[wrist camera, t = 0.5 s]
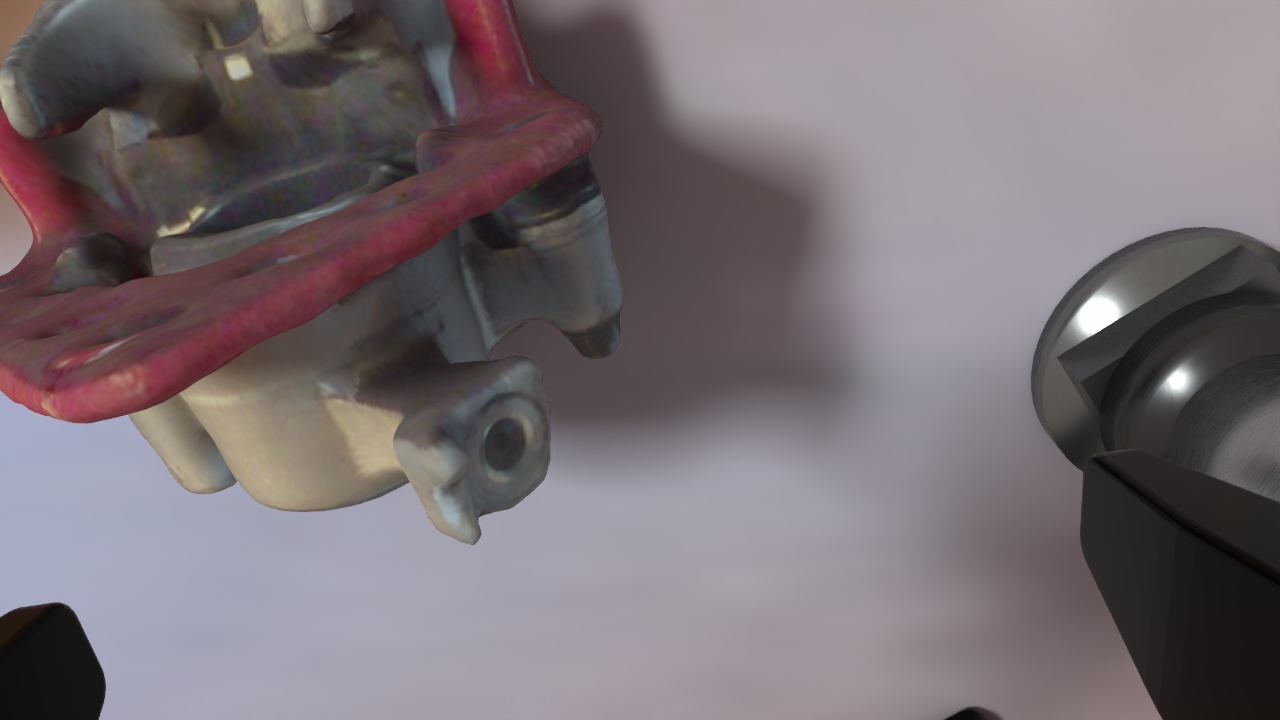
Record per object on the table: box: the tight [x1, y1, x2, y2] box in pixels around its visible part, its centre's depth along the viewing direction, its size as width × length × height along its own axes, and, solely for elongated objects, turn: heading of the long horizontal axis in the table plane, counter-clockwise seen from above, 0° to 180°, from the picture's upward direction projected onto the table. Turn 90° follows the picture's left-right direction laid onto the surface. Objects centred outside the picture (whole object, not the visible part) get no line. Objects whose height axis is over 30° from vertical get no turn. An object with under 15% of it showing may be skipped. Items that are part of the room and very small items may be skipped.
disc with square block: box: [1031, 227, 1280, 472], centre depth 23 cm, size 6×6×2 cm
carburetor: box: [0, 0, 623, 545], centre depth 18 cm, size 11×11×12 cm
